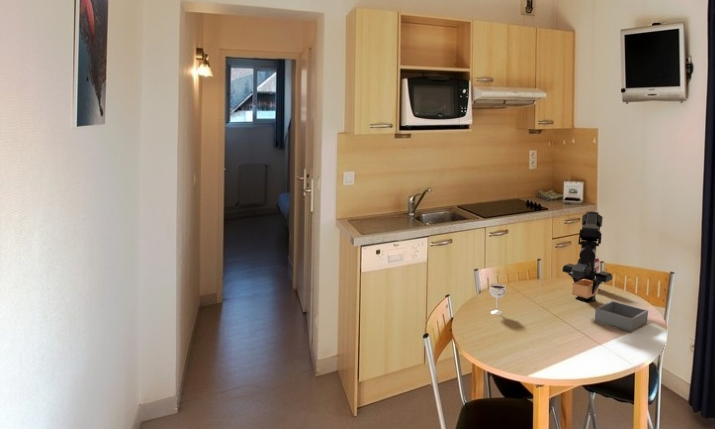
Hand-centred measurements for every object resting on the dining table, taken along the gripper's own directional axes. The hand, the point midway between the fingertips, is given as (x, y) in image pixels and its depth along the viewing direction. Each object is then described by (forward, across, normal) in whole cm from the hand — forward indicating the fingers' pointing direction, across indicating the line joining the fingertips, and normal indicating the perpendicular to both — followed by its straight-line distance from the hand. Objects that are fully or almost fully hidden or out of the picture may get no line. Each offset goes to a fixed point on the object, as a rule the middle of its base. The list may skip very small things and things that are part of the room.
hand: (585, 291), depth 194 cm
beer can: (+10, -13, +31) cm, 35 cm away
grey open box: (+9, +14, +2) cm, 17 cm away
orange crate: (+1, 0, 0) cm, 1 cm away
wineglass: (+10, -23, -29) cm, 38 cm away
